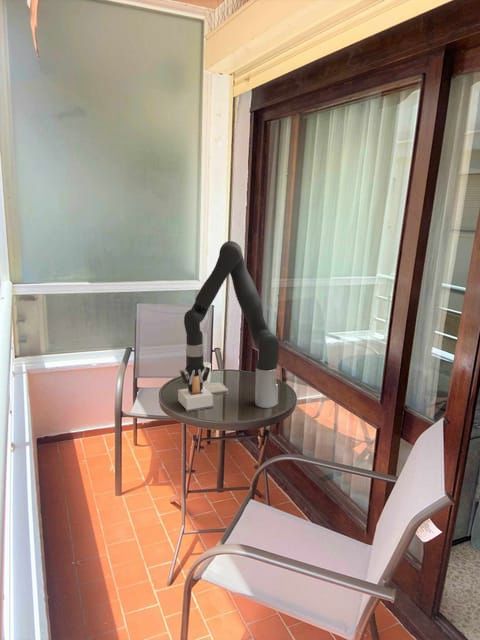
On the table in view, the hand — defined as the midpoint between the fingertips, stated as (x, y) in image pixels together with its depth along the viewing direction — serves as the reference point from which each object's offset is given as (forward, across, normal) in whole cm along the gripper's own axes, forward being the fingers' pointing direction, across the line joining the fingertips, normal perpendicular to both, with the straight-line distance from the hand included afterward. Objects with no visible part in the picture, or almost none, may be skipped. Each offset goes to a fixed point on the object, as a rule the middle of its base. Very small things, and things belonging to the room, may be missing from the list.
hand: (195, 390), depth 214 cm
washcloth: (+7, -11, -13) cm, 19 cm away
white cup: (+7, -13, -25) cm, 29 cm away
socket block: (+7, 0, 0) cm, 7 cm away
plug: (+3, 0, 0) cm, 3 cm away
